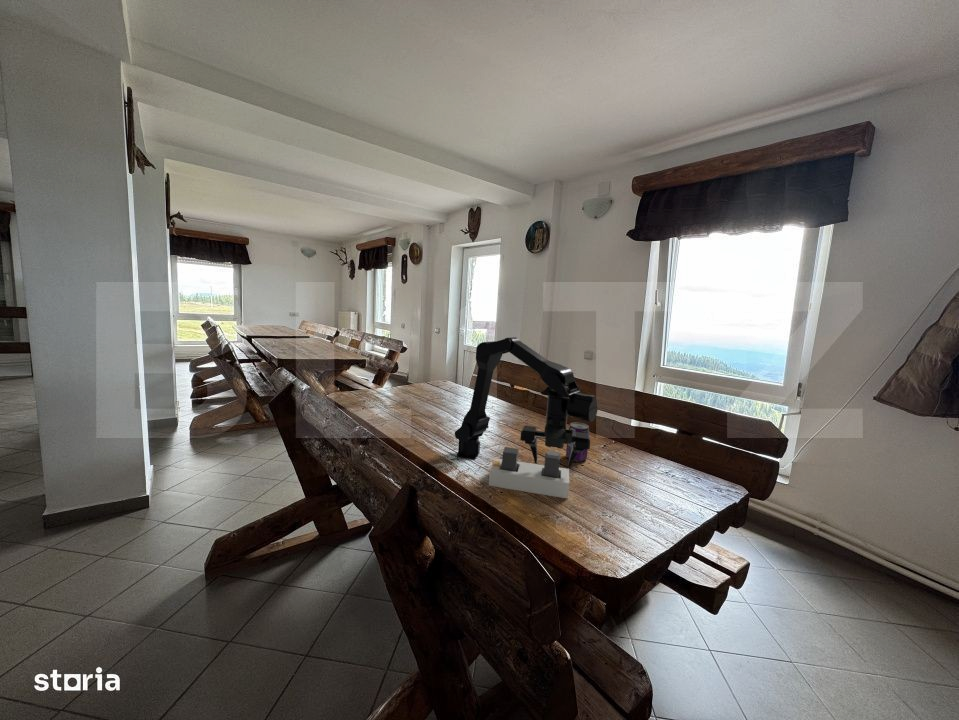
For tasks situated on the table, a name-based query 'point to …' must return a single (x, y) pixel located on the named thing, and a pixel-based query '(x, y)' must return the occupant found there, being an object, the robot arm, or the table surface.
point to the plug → (551, 464)
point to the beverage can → (575, 428)
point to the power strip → (527, 476)
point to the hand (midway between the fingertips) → (552, 465)
